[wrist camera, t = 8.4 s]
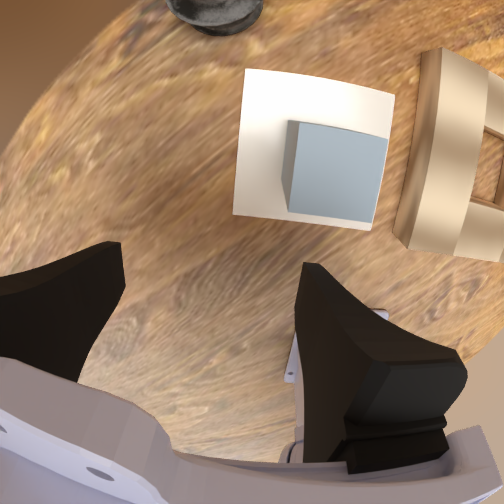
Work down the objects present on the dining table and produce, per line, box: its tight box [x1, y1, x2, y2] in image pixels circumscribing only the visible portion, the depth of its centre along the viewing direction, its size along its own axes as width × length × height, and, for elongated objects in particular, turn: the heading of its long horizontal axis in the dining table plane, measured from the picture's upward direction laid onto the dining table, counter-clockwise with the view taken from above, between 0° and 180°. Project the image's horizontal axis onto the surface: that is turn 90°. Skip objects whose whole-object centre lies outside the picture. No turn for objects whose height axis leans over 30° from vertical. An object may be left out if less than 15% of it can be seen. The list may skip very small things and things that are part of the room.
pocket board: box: [392, 47, 504, 263], centre depth 17 cm, size 14×14×3 cm
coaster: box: [232, 69, 395, 231], centre depth 19 cm, size 10×10×1 cm
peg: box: [281, 120, 388, 223], centre depth 16 cm, size 4×4×7 cm
